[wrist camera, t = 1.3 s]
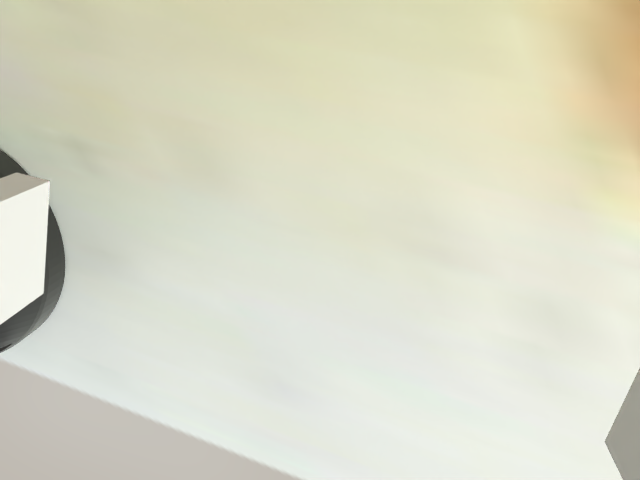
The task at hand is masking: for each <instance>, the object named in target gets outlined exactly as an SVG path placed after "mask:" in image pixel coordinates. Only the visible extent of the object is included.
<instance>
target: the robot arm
mask: <svg viewBox="0 0 640 480" xmlns="http://www.w3.org/2000/svg"><path fill="white" fill-rule="evenodd" d="M49 190H50V181H48V180H44V179H40V178H37V177H33V176H29V175H28V174H27V173H26V172H25V171H24V170H23V169H22V168H21V167H20V166H19V165H18V164H17V163H16V162H15V161H14V160H12V159H11V158H10V157H9V156H7V155H6V154H5V153H4V152H2V151H1V150H0V353H1V352H3V351H5V350H7V349H9V348H11V347H13V346H14V345H16V344H17V343H19V342H20V341H21V340H23V339H24V338H25V337H27V336H28V335H29V334H31V333H32V332H33V331H34V330H36V329H37V328H38V327H39V326H41V325H42V324H43V323H44V322H45V320H46V319H47V318H48V317H49V316H50V314H51V313H52V311H53V309H54V308H55V306H56V304H57V302H58V299H59V297H60V294H61V291H62V287H63V282H64V275H65V255H64V247H63V242H62V237H61V233H60V230H59V227H58V224H57V221H56V219H55V216H54V214H53V212H52V210H51V208H50V206H49ZM605 443H606V445H607V447H608V449H609V452H610V454H611V456H612V458H613V460H614V462H615V464H616V466H617V468H618V470H619V472H620V474H621V476H622V478H623V480H640V369H639V371H638V373H637V375H636V377H635V379H634V381H633V383H632V385H631V388H630V390H629V392H628V394H627V396H626V398H625V400H624V402H623V404H622V406H621V409H620V411H619V413H618V415H617V417H616V419H615V421H614V423H613V425H612V427H611V430H610V432H609V434H608V436H607V438H606V440H605Z"/></svg>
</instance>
